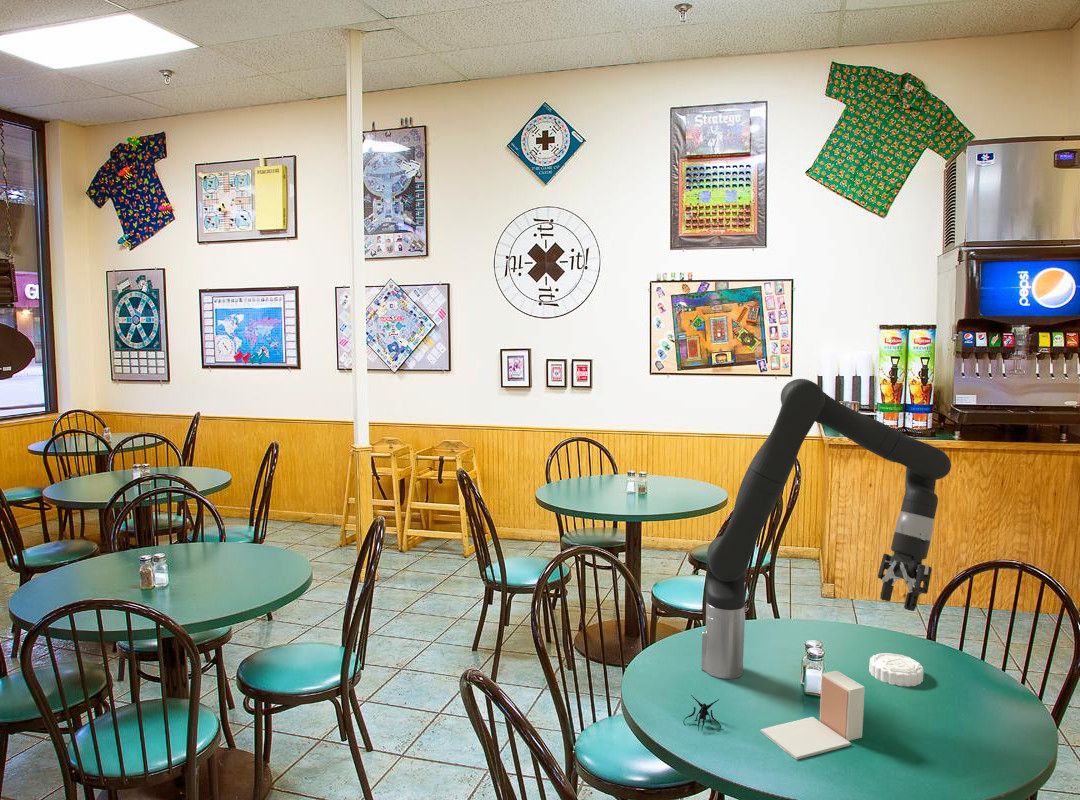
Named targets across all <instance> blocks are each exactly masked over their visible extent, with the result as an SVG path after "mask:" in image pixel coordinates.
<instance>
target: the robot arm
mask: <svg viewBox="0 0 1080 800" xmlns="http://www.w3.org/2000/svg"><path fill="white" fill-rule="evenodd" d="M780 401H781V402H780V403H781V407H780V410H779V412H778V415H777V418H776V420H775V423H774V425H773V428H772V430H771V432H770V433H769V435H768V436H767V438H766V439H765V441H764V442H763V444H762V445H761V446H760V448H758V450H757V451H756V453H755V455H754V457H753V458H752V460H751V461H750V463H749V465H748V467H747V470H746V472H745V474H744V475H743V478H742V480H741V483H740V486H739V489H738V493H737V495H736V498H735V499H736V500H735V503H734V506H733V511H732V515H731V518H730V521H729V523H728V525H727V527H726V529H725V531H724V533H723V535H720V536H717V537H716V538H714V539H713V540H712V541H711V542H710V543H709V545H708V547H707V551H706V582H705V583H706V584H705V586H706V589H705V592H706V598H705V599H706V601H705V602H706V604H705V605H706V606H705V630H704V631H702V634H701V662H700V663H701V665H700V666H701V667H700V669H701V670H702V671H705V672H706V673H707V674H709V675H710V676H712V677H715V678H719V679H728V680H729V679H735V678H736V679H737V678H739V677H741V676H742V675H743V674H744V655H745V651H744V650H745V649H744V648H745V626H746V625H745V622H746V621H745V619H746V584H745V583H746V579H745V578H746V571H747V569H748V567H749V563H750V561H751V557H752V554H753V552H754V550H755V547H756V544H757V541H758V539H759V535H760V533H761V532H762V530H763V529H764V526H765V524H766V523H767V521H768V519H769V518H770V517H771V516H770V515H771V513H772V512H773V510H774V508H775V506H776V504H777V502H778V500H779V499H780V496H781V495H782V493H783V490H784V489H785V487H786V484H787V483H788V480H789V477H790V475H791V473H792V469H793V468H794V465H795V464H796V460H797V457H798V454H799V452H800V449H801V447H802V445H803V442H804V441H805V439H806V437H807V435H808V434H809V432H810V431H811V429H812V427H813V425H814V424H815V422H816V423H818V424H821V425H823V426H825V427H827V428H829V429H831V430H834V431H836V432H837V433H838V434H841V435H843V436H844V437H845V438H847V439H848V440H850V441H851V442H853V443H855V444H856V445H859V446H860V447H862V448H863V449H865V450H867V451H869V452H871V453H873V454H874V455H876V456H879V457H881V458H882V459H884V460H887V461H889V462H892V463H897V464H900V465H902V466H904V467H905V468H906V469H905V478H904V479H905V480H904V482H905V483H904V490H905V491H904V496H903V498H902V499H903V500H902V505H901V509H900V512H899V514H898V515H899V516H898V518H897V520H896V524H895V529H894V534H893V537H892V542H891V546H890V550H891V551H892V552H894V554H888V553H883V555H882V558H881V562H880V565H879V570H878V574H877V578H878V579H880V580H881V582H882V586H881V592H880V597H879V598H880V600H882V601H884V602H890V601H891V598H892V595H893V591H894V584H895V583H896V582H897V581H899V580H901V579H902V580H903V581H904V583H905V584H906V586H907V587H906V588H907V590H908V591H907V592H906V597H905V602H904V606H903V607H904V610H906V611H911V612H914V611H915V610H916V608H917V604H918V600H919V596H920V595H922V594H925V595H926V594H928V593H929V586H930V581H931V576H932V575H931V574H932V569H933V568H932V567H931V566H930V565H926V564H922V563H923V562H922V561H923V560H926V559H927V558H928V555H929V549H930V545H931V541H932V538H933V537H932V536H933V532H934V527H935V526H934V523H935V519H936V513H937V508H938V505H939V504H938V503H939V497H938V495H937V494H936V492H935V489H936V483H937V480H941V479H944V478H945V477H946V476H948V475H949V473H950V472H951V469H952V462H951V459H950V457H949V456H948V455H947V453H946V452H944V451H942V450H941V449H940V448H937V446H933V445H932V444H928V443H926V442H924V441H921V440H918V439H916V438H912V437H910V436H909V435H906V434H904V433H903V432H901V431H899V430H897V429H895V428H893V427H892V426H889V425H888V424H885V423H883V422H881V421H878V420H876V418H875V419H874V418H872V417H870V416H868V415H865V414H864V413H861V412H859V411H856V410H855V409H852V408H850V407H848V406H846V405H845V404H842V403H841V402H839V401H837V400H836V399H834V398H833V397H831V396H830V395H829V394H827V393H826V392H825V391H823V389H822V388H821V387H820V385H819V384H817V383H816V382H813V381H812V380H809V379H806V378H797V379H793V380H791V381H789V382H787V384H785V385H784V386H783V388H781V393H780ZM884 573H885V574H884ZM922 583H923V584H922ZM921 584H922V585H921Z"/></svg>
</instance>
